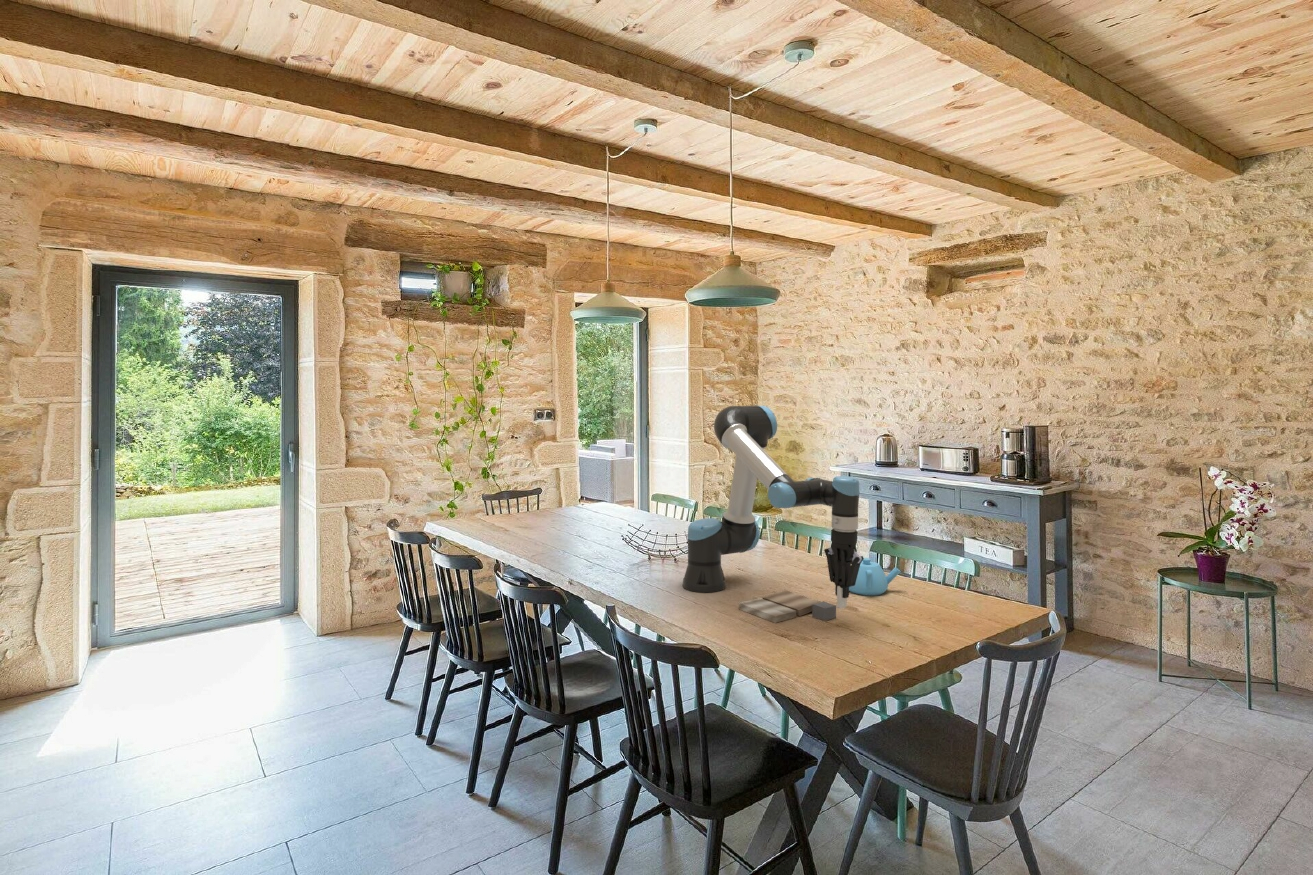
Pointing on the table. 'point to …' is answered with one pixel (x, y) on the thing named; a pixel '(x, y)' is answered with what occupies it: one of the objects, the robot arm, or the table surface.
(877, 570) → the teapot
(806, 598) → the board
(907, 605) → the table surface
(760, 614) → the laid floor rows
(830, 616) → the block
